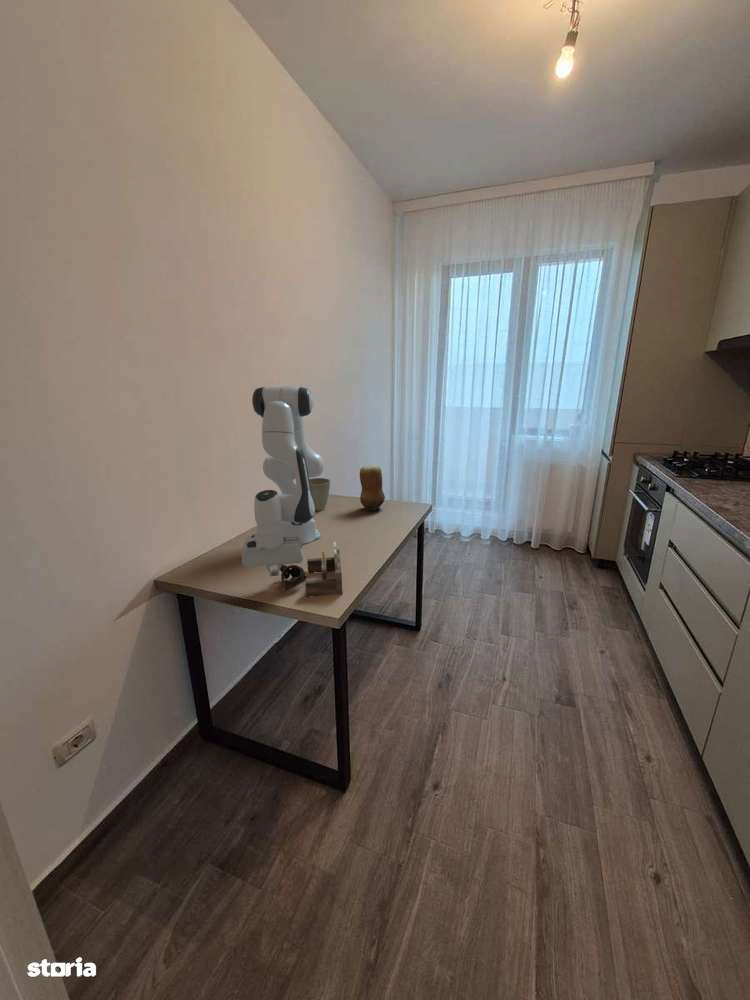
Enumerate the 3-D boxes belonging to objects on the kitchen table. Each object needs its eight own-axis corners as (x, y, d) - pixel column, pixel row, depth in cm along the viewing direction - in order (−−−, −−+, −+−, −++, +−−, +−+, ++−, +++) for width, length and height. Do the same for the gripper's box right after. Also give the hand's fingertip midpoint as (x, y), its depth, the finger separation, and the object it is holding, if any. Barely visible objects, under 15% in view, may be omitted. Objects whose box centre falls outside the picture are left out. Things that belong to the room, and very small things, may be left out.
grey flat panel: (322, 574, 147) (321, 546, 143) (327, 573, 147) (325, 546, 144) (322, 587, 137) (321, 558, 134) (327, 587, 137) (325, 558, 134)
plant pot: (303, 513, 215) (301, 485, 211) (306, 505, 230) (304, 478, 225) (331, 512, 216) (329, 484, 212) (332, 504, 231) (330, 477, 226)
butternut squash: (363, 505, 227) (361, 462, 220) (386, 506, 225) (386, 462, 218) (358, 513, 214) (356, 467, 207) (382, 514, 212) (382, 468, 204)
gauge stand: (308, 571, 150) (305, 539, 147) (340, 568, 152) (338, 536, 148) (306, 597, 132) (303, 561, 129) (342, 594, 134) (340, 558, 130)
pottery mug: (314, 581, 144) (310, 569, 138) (296, 601, 139) (291, 589, 133) (290, 566, 149) (285, 553, 143) (272, 585, 144) (266, 573, 138)
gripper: (302, 533, 139) (305, 568, 143) (242, 536, 137) (246, 573, 141) (301, 540, 133) (304, 577, 137) (238, 544, 131) (243, 581, 135)
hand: (274, 575), depth 139 cm, fingers closed
